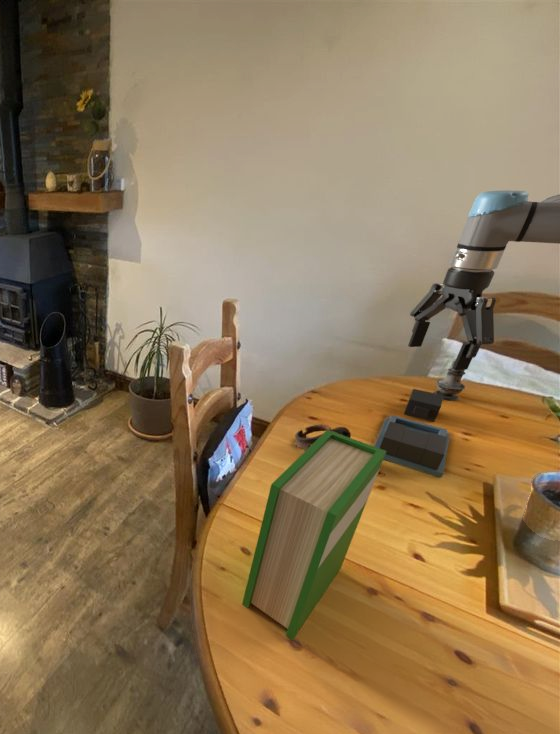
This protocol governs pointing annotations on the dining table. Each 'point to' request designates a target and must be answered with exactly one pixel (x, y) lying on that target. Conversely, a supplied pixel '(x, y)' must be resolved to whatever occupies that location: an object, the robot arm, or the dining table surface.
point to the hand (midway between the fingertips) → (435, 357)
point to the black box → (424, 405)
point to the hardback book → (310, 527)
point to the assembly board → (416, 428)
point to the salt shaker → (450, 384)
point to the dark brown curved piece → (307, 442)
